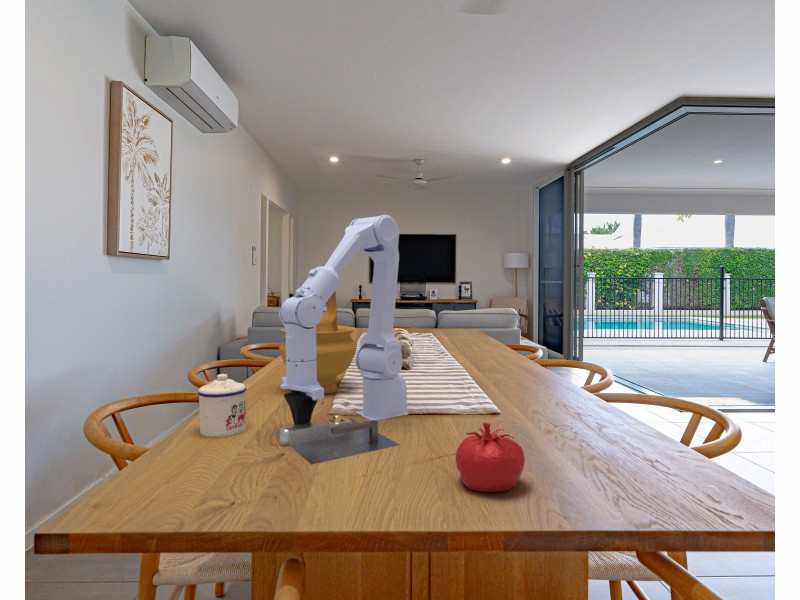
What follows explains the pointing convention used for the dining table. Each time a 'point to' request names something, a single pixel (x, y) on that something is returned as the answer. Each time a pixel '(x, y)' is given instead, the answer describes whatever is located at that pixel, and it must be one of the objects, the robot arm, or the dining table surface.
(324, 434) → the link
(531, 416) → the dining table surface
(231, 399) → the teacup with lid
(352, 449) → the base plate
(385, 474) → the dining table surface
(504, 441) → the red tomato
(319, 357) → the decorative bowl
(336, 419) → the peg
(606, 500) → the dining table surface
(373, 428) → the bracket
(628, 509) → the dining table surface
